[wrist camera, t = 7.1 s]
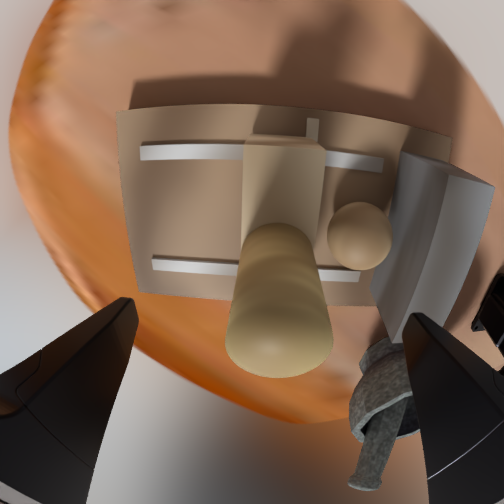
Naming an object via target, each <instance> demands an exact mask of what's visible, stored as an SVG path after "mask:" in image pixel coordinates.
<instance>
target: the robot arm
mask: <svg viewBox="0 0 504 504" xmlns="http://www.w3.org/2000/svg"><path fill="white" fill-rule="evenodd" d="M138 323H139V318H138V314H137V310H136V306H135V302H134V300H133V299H132V298H127V297H120V298H119V299H117V300H115V301H114V302H112V303H111V304H109V305H107V306H106V307H104V308H103V309H101V310H100V311H98V312H97V313H95V314H93V315H92V316H90V317H89V318H87V319H86V320H84V321H83V322H81V323H80V324H78V325H76V326H75V327H73V328H72V329H70V330H69V331H68V332H66V333H65V334H63V335H62V336H60V337H58V338H57V339H55V340H54V341H52V342H51V343H49V344H48V345H46V346H45V347H43V348H42V350H41V349H40V350H39V351H37V352H36V353H34V354H33V355H31V356H30V357H28V358H27V359H25V360H24V361H22V362H21V363H19V364H17V365H16V366H14V367H12V368H11V369H9V370H7V371H5V372H3V373H2V374H0V504H86V501H87V497H88V492H89V488H90V484H91V480H92V476H93V472H94V468H95V464H96V461H97V457H98V454H99V450H100V447H101V443H102V439H103V437H104V433H105V430H106V427H107V424H108V421H109V417H110V414H111V411H112V408H113V405H114V402H115V399H116V396H117V393H118V390H119V387H120V385H121V382H122V379H123V376H124V374H125V371H126V368H127V365H128V362H129V358H130V354H131V350H132V346H133V342H134V338H135V335H136V331H137V327H138ZM471 329H472V331H473V332H476V331H483V330H486V332H487V333H488V335H489V336H490V338H491V339H492V341H493V343H494V344H495V346H496V347H498V349H499V350H500V352H501V354H502V355H503V357H504V274H498V275H497V276H496V278H495V280H494V282H493V284H492V286H491V289H490V291H489V293H488V295H487V297H486V299H485V301H484V303H483V305H482V307H481V309H480V311H479V313H478V315H477V316H476V318H475V320H474V322H473V324H472V326H471ZM402 341H403V346H404V352H405V359H406V365H407V371H408V377H409V381H410V385H411V390H412V394H413V398H414V403H415V407H416V412H417V417H418V422H419V427H420V433H421V439H422V445H423V450H424V458H425V465H426V473H427V479H428V480H427V484H428V494H429V504H504V366H503V367H502V368H501V370H499V371H496V370H495V369H494V368H492V367H491V366H490V365H489V364H488V363H486V362H485V361H484V360H483V359H481V358H480V357H479V356H478V355H477V354H475V353H474V352H473V351H472V350H470V349H469V348H468V347H467V346H465V345H464V344H463V343H462V342H460V341H459V340H458V339H456V338H455V337H454V336H453V335H451V334H450V333H449V332H447V331H446V330H445V329H444V328H442V327H441V326H440V325H438V324H437V323H436V322H434V321H433V320H432V319H430V318H429V317H428V316H426V315H425V314H424V313H422V312H413V313H411V314H410V315H409V317H408V320H407V322H406V324H405V326H404V328H403V331H402Z"/></svg>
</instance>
